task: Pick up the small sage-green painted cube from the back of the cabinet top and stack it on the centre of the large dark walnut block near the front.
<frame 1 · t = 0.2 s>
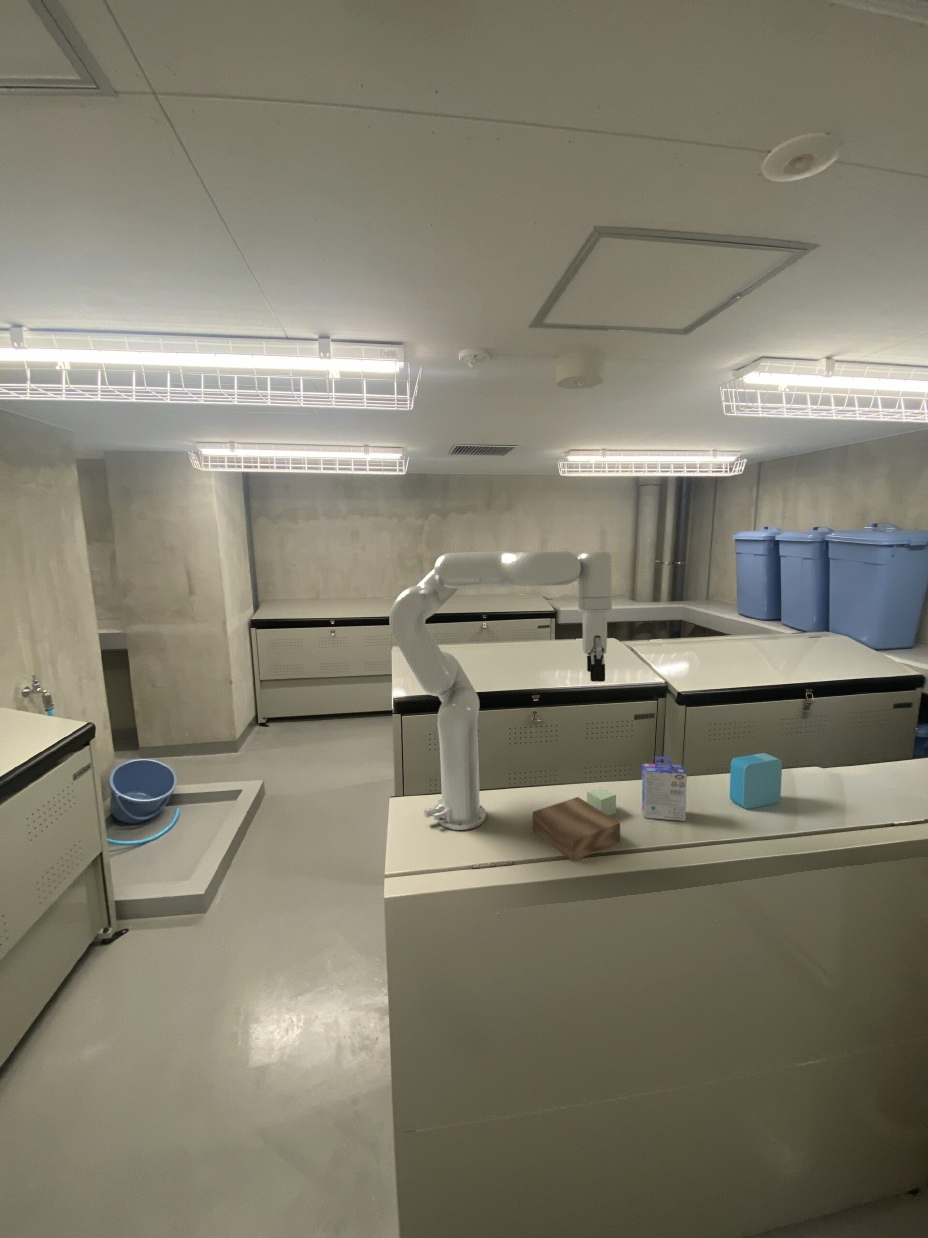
hand: (595, 676, 112), 36 cm above the table, tool pointing down, fingers open, 9 cm apart
ink cartridge box: (663, 815, 118), on the table
walnut block: (575, 837, 110), on the table
blue rounded block: (754, 803, 123), on the table
sage cube: (601, 811, 121), on the table
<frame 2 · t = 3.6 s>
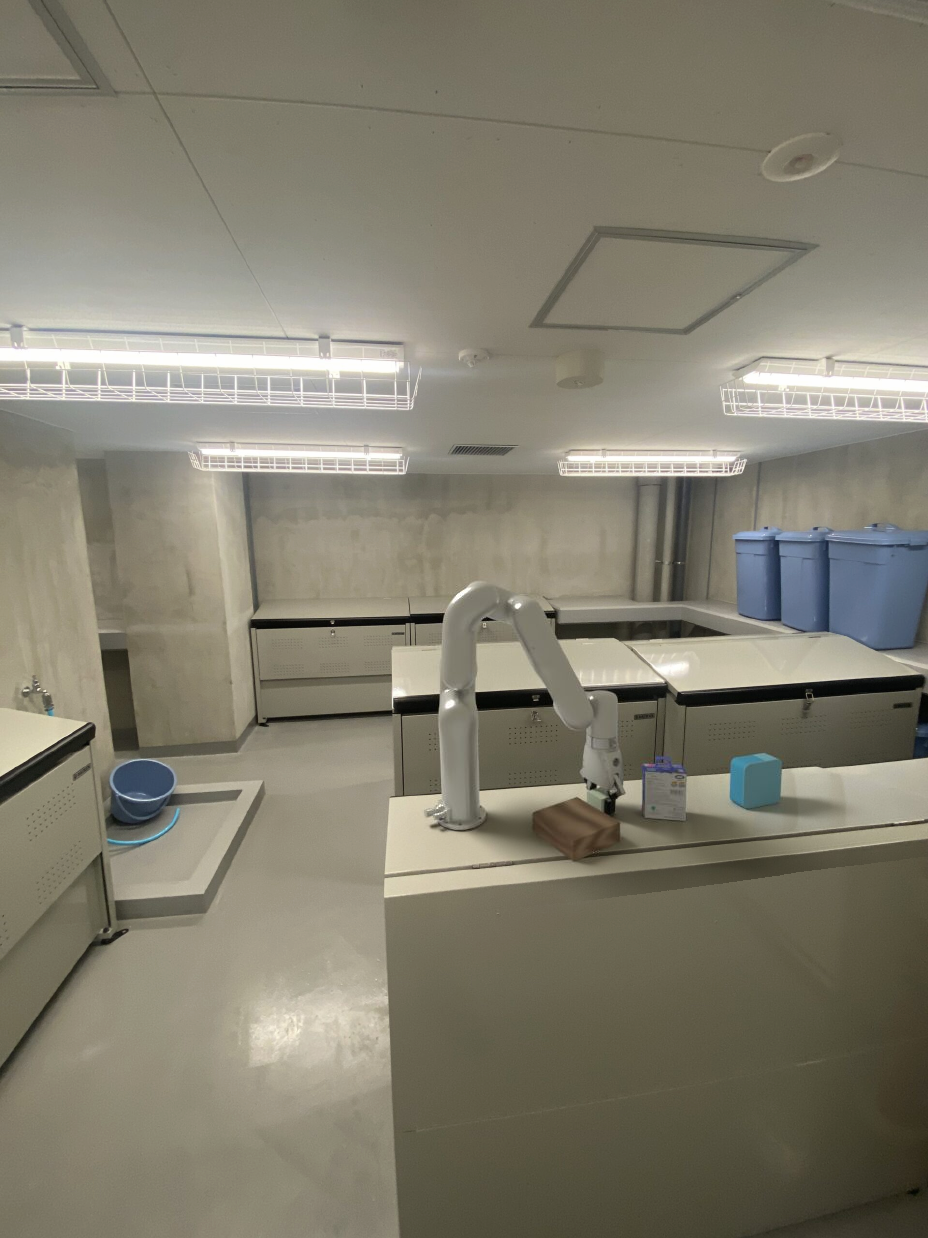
hand: (601, 808, 121), 1 cm above the table, tool pointing down, fingers closed on sage cube, 5 cm apart
sage cube: (601, 811, 121), on the table, touching gripper
everything else where it was.
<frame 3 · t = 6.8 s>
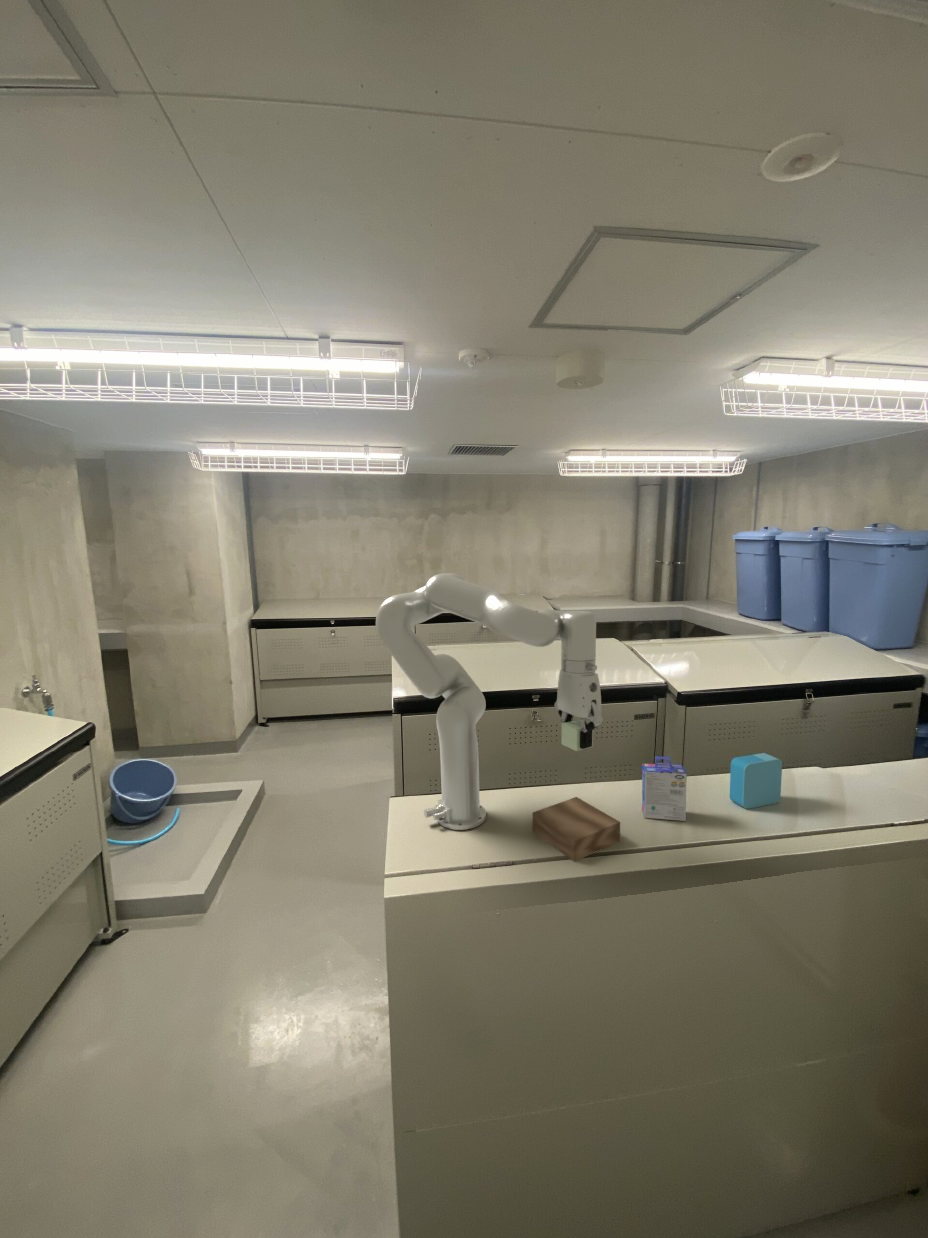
hand: (577, 742, 109), 22 cm above the table, tool pointing down, fingers closed on sage cube, 5 cm apart
sage cube: (577, 745, 109), point 21 cm above the table, touching gripper
everything else where it was.
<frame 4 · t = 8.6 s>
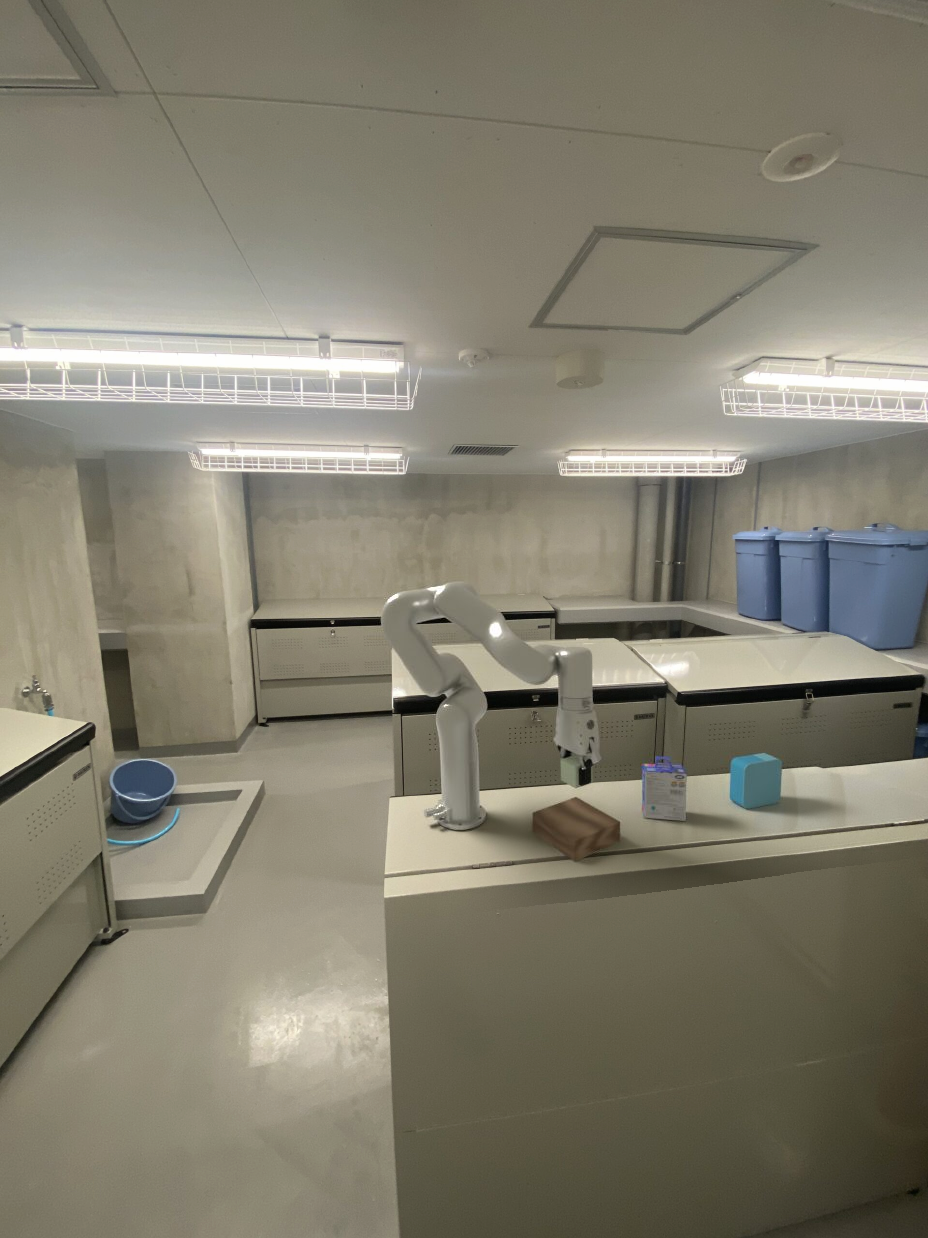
hand: (576, 778, 109), 14 cm above the table, tool pointing down, fingers closed on sage cube, 5 cm apart
sage cube: (576, 781, 109), point 13 cm above the table, touching gripper
everything else where it was.
when the fingers open (7 cm above the table, at t = 10.3 s): sage cube drops 2 cm, resting on walnut block.
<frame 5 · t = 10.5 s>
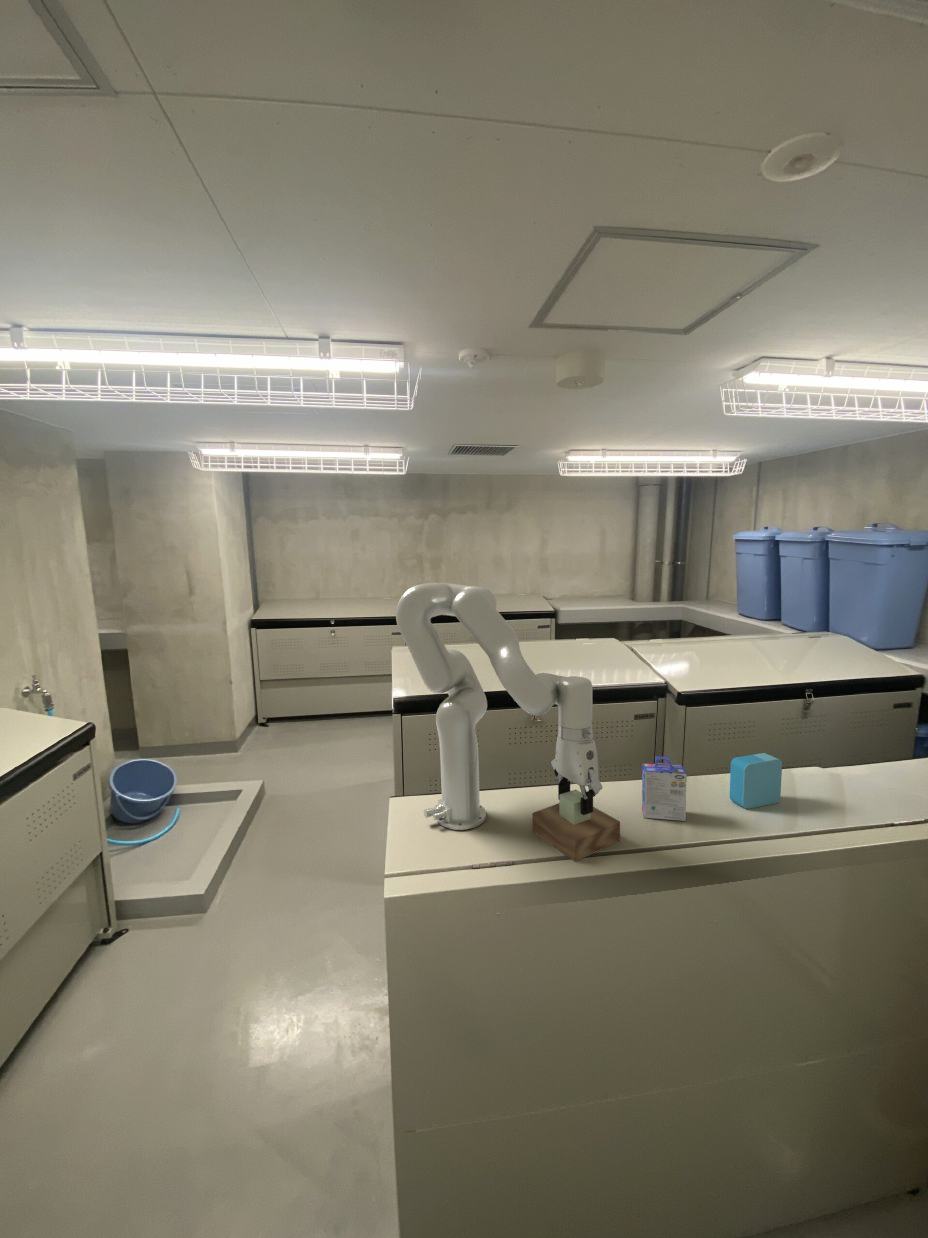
hand: (575, 805, 109), 7 cm above the table, tool pointing down, fingers open, 7 cm apart
walnut block: (575, 837, 110), on the table, touching sage cube
sage cube: (574, 817, 110), point 5 cm above the table, touching walnut block
everything else where it was.
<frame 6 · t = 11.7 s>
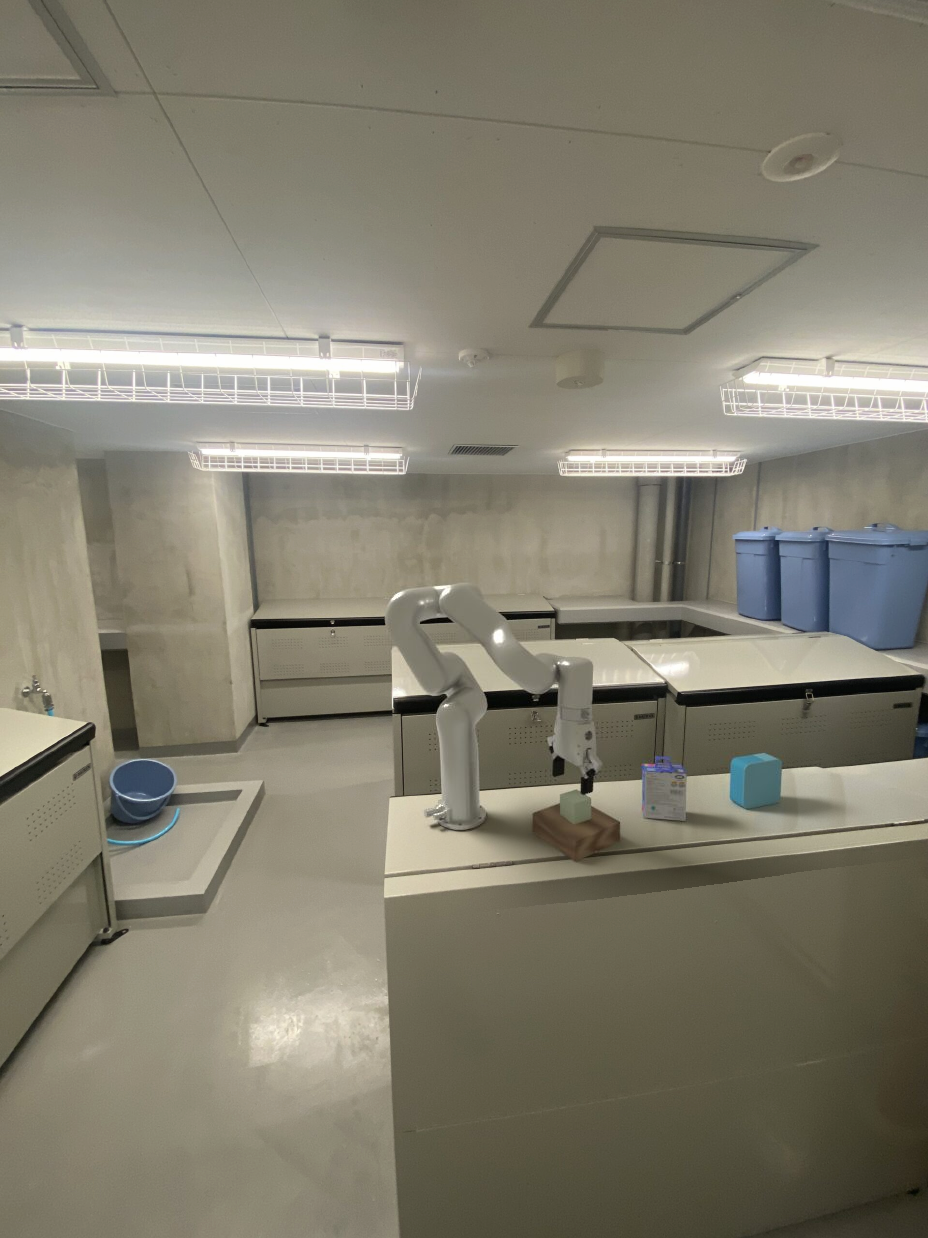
hand: (571, 784, 109), 13 cm above the table, tool pointing down, fingers open, 9 cm apart
walnut block: (575, 837, 110), on the table
sage cube: (575, 816, 110), point 5 cm above the table
everything else where it was.
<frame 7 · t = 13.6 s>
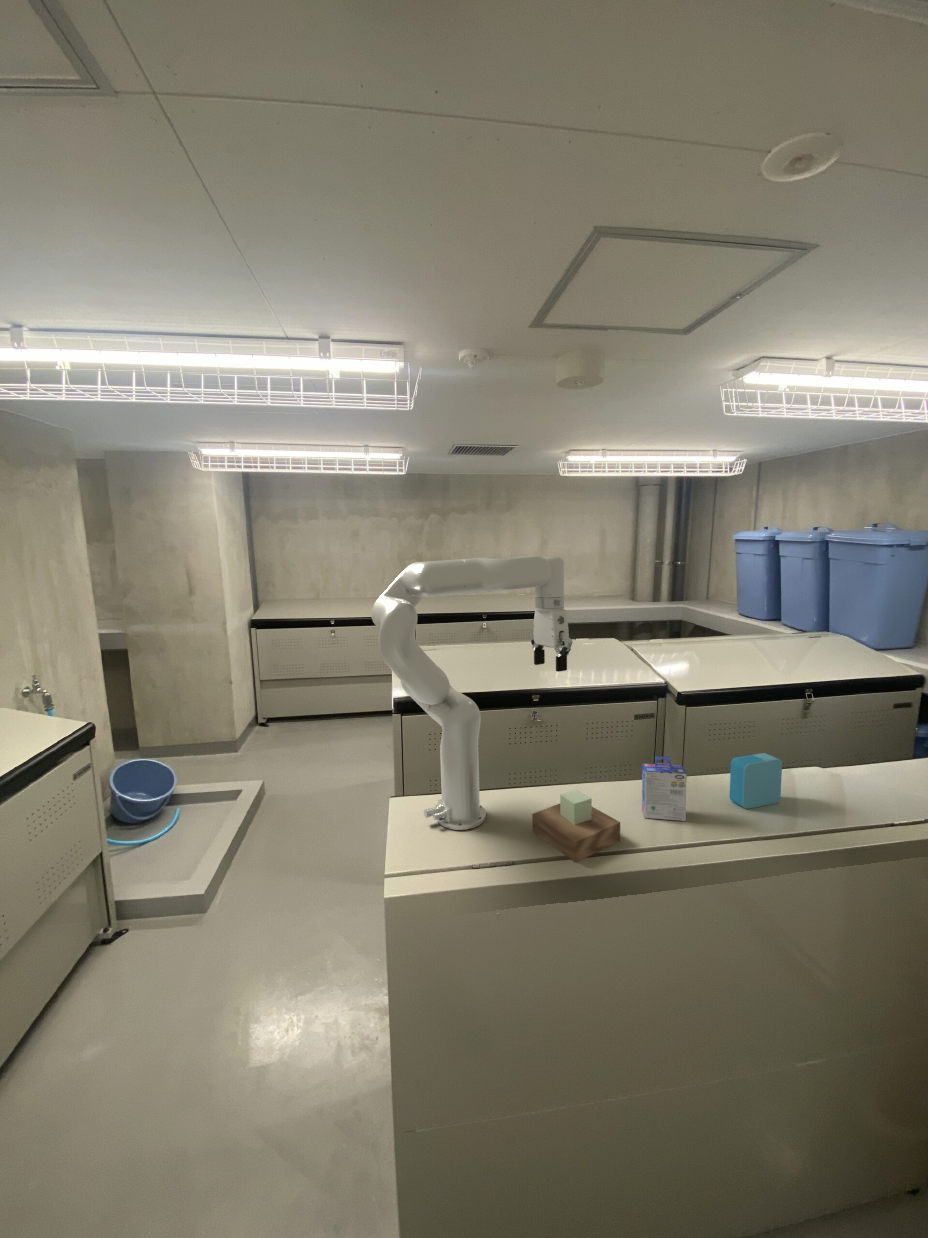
hand: (550, 667, 127), 35 cm above the table, tool pointing down, fingers open, 9 cm apart
nothing on the table moved.
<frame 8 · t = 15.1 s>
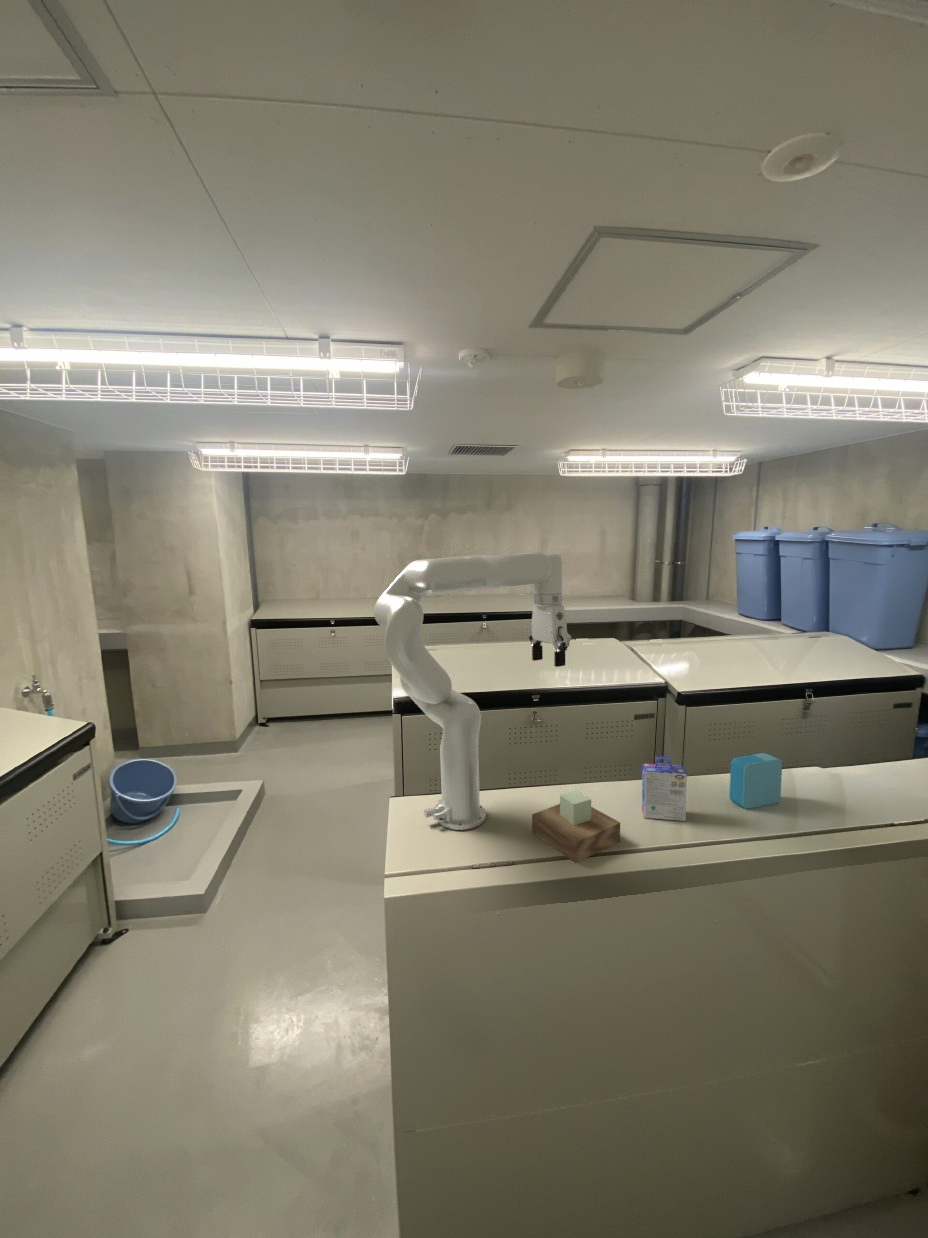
hand: (548, 662, 129), 36 cm above the table, tool pointing down, fingers open, 9 cm apart
walnut block: (575, 838, 110), on the table, touching sage cube
sage cube: (575, 817, 110), point 5 cm above the table, touching walnut block
everything else where it was.
at the end: sage cube 0.3 cm off-centre on the walnut block, point 5.0 cm above the walnut block's base; sage cube tilted 0°; the gripper is holding nothing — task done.
